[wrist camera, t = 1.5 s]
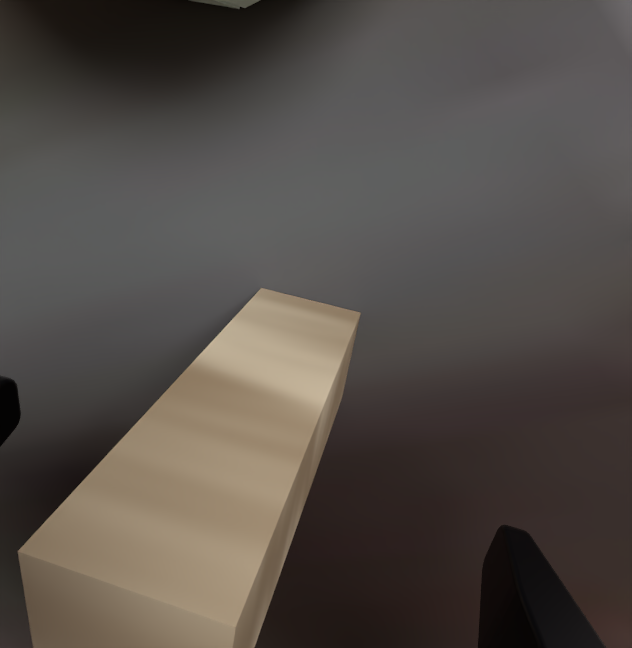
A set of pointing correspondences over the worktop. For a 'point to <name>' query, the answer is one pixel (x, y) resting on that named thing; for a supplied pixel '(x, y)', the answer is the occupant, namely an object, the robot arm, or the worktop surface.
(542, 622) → the robot arm
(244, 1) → the light green piece
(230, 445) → the wooden square beam
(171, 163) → the worktop surface
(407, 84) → the worktop surface
